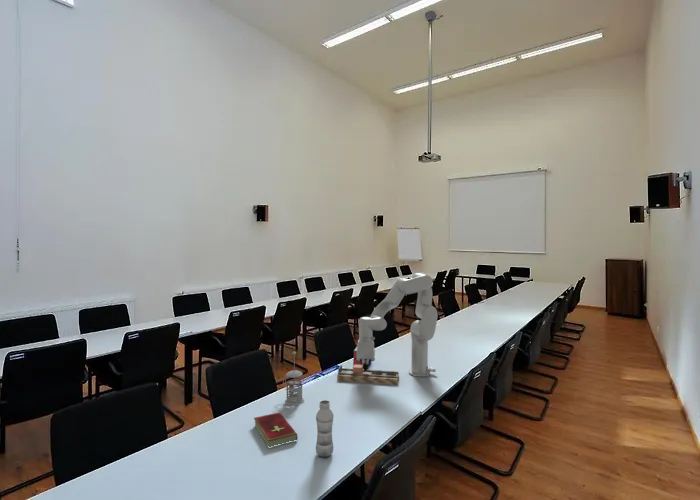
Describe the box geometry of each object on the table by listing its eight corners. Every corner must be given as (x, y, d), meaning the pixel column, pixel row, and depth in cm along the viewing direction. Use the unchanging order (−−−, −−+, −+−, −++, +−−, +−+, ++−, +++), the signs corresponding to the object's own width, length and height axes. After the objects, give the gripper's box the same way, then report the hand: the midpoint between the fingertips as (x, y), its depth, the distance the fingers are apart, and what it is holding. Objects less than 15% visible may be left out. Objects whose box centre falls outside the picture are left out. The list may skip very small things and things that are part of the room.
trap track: (398, 376, 224) (398, 366, 223) (397, 384, 212) (397, 374, 212) (341, 373, 230) (341, 363, 229) (337, 380, 218) (337, 370, 218)
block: (362, 371, 224) (362, 364, 224) (361, 374, 219) (361, 367, 219) (354, 371, 225) (354, 364, 224) (353, 374, 220) (352, 367, 220)
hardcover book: (280, 420, 172) (280, 411, 172) (297, 442, 154) (297, 432, 153) (254, 426, 166) (253, 417, 166) (268, 450, 148) (268, 439, 148)
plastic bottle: (315, 450, 147) (315, 398, 146) (333, 449, 148) (333, 398, 147) (315, 460, 141) (315, 406, 140) (334, 459, 141) (333, 405, 141)
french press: (295, 407, 184) (295, 355, 183) (277, 401, 190) (277, 351, 189) (308, 399, 192) (308, 350, 191) (290, 394, 199) (290, 347, 198)
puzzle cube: (368, 367, 240) (368, 351, 239) (353, 366, 242) (353, 350, 241) (371, 362, 250) (371, 347, 249) (356, 361, 252) (356, 346, 251)
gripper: (379, 337, 223) (379, 369, 223) (353, 336, 225) (353, 367, 226) (378, 341, 215) (377, 373, 216) (351, 339, 218) (351, 371, 218)
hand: (365, 370), depth 221 cm, fingers closed
